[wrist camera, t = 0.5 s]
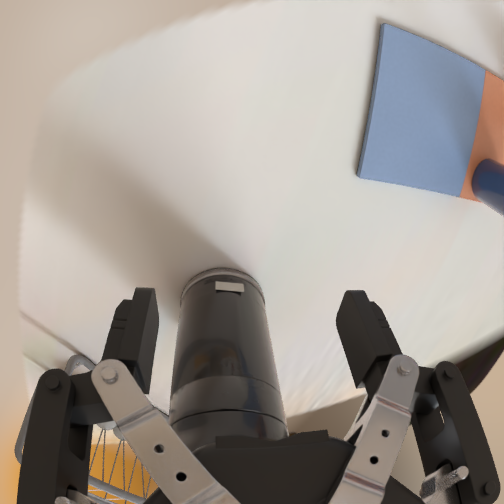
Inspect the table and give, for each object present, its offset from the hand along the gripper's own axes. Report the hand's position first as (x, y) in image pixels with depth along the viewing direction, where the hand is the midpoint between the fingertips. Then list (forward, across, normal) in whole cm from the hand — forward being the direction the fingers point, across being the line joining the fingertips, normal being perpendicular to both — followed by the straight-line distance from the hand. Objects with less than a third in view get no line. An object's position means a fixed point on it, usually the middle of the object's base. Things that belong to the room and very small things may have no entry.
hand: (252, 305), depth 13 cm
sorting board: (+19, +26, +7) cm, 33 cm away
